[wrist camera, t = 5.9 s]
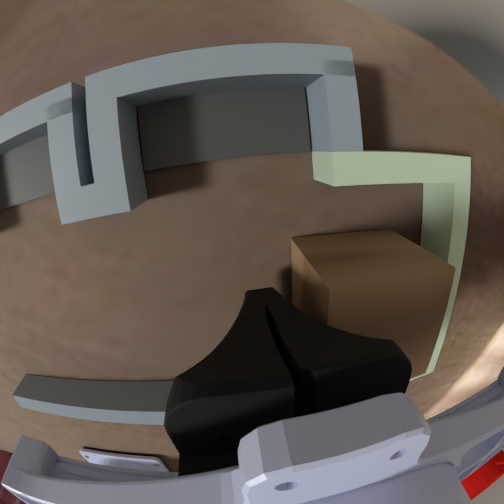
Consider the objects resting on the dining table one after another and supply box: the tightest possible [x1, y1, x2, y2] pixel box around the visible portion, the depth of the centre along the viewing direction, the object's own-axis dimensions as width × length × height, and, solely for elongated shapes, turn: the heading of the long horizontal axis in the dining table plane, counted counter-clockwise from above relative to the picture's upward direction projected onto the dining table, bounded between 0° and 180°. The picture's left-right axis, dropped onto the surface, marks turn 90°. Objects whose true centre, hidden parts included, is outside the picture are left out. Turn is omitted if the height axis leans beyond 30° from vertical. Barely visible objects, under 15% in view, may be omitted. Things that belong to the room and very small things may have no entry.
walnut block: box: [291, 229, 456, 379], centre depth 11 cm, size 5×5×5 cm
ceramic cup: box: [461, 450, 504, 500], centre depth 24 cm, size 13×17×10 cm
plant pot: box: [0, 450, 26, 504], centre depth 14 cm, size 14×14×13 cm
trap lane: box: [0, 43, 471, 425], centre depth 11 cm, size 16×27×2 cm, turn 96°
